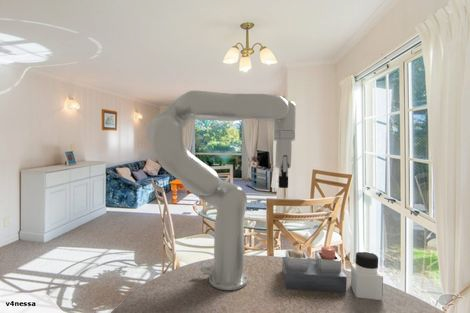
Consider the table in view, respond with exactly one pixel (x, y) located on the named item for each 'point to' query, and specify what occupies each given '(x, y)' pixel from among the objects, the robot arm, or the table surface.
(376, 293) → the medicine bottle
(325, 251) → the red plunger
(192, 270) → the table surface
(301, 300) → the table surface
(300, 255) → the beige ball
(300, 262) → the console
